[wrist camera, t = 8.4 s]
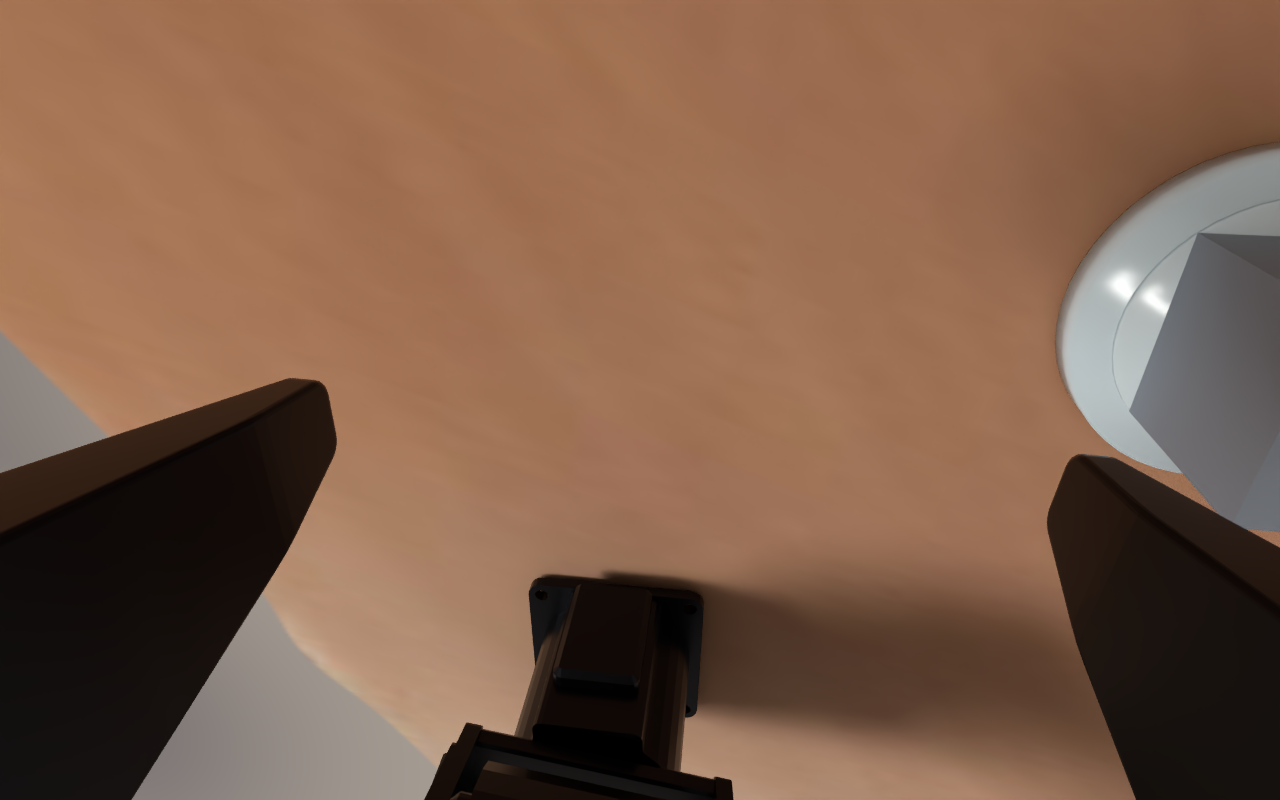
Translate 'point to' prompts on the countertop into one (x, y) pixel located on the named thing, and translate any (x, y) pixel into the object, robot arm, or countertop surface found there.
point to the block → (1221, 377)
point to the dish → (1152, 285)
